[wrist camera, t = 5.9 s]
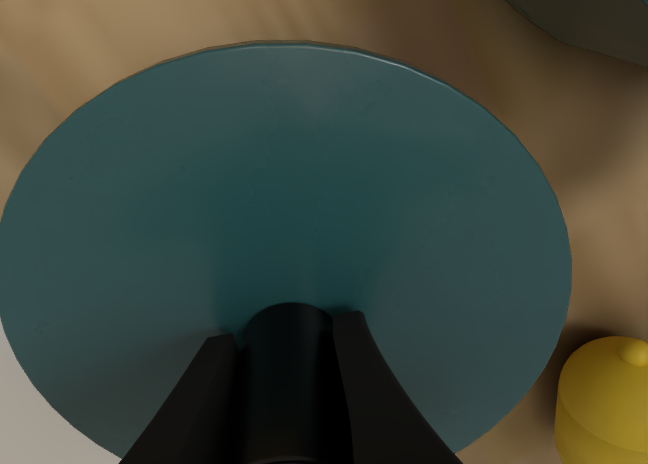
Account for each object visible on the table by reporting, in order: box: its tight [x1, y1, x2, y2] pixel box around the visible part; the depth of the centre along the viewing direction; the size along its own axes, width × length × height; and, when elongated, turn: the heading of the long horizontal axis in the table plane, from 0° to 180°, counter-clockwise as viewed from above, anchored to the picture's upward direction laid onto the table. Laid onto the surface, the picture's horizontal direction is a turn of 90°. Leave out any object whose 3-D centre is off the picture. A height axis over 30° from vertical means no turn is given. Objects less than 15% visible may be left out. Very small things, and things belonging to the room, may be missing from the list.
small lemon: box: [554, 336, 648, 464], centre depth 18 cm, size 5×9×5 cm, turn 11°
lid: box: [0, 40, 572, 464], centre depth 10 cm, size 14×14×5 cm
